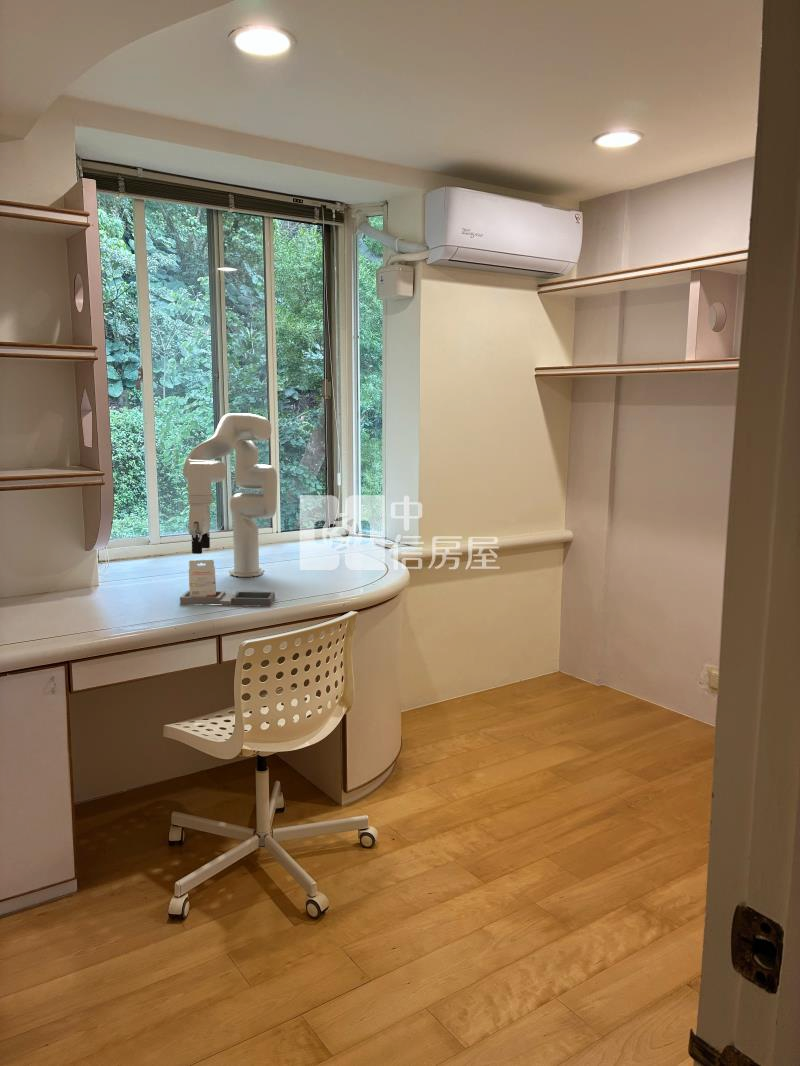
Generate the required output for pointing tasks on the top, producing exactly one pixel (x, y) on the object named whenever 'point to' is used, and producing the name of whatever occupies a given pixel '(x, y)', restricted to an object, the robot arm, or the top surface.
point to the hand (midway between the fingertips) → (201, 550)
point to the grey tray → (248, 598)
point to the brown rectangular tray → (201, 598)
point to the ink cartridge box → (202, 579)
